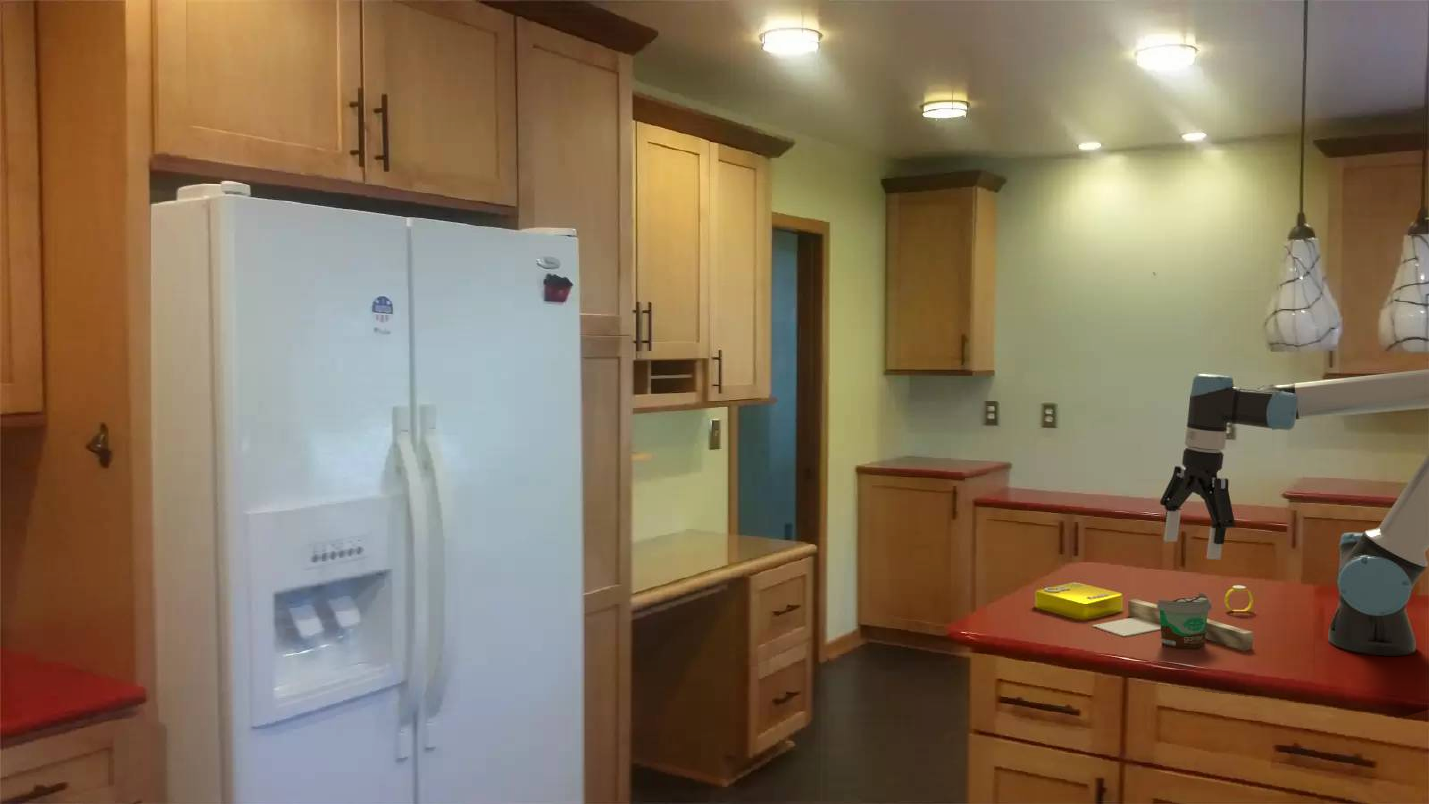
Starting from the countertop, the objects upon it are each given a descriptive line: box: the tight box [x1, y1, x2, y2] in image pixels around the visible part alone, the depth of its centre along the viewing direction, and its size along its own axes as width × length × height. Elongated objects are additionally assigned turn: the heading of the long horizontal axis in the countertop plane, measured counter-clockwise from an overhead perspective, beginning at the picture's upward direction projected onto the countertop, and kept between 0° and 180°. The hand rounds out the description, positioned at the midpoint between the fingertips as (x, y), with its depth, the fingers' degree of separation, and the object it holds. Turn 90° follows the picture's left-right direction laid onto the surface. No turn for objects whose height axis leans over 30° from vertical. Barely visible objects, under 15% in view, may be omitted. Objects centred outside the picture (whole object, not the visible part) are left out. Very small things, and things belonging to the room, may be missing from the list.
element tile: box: [1034, 581, 1124, 621], centre depth 249 cm, size 15×15×5 cm
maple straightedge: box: [1127, 598, 1254, 652], centre depth 229 cm, size 30×3×4 cm, turn 26°
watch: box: [1224, 584, 1255, 612], centre depth 244 cm, size 6×3×6 cm, turn 84°
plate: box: [1091, 617, 1161, 638], centre depth 233 cm, size 9×13×1 cm
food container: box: [1156, 592, 1213, 651], centre depth 219 cm, size 12×6×10 cm, turn 114°
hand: (1191, 549), depth 221 cm, fingers open, 13 cm apart
